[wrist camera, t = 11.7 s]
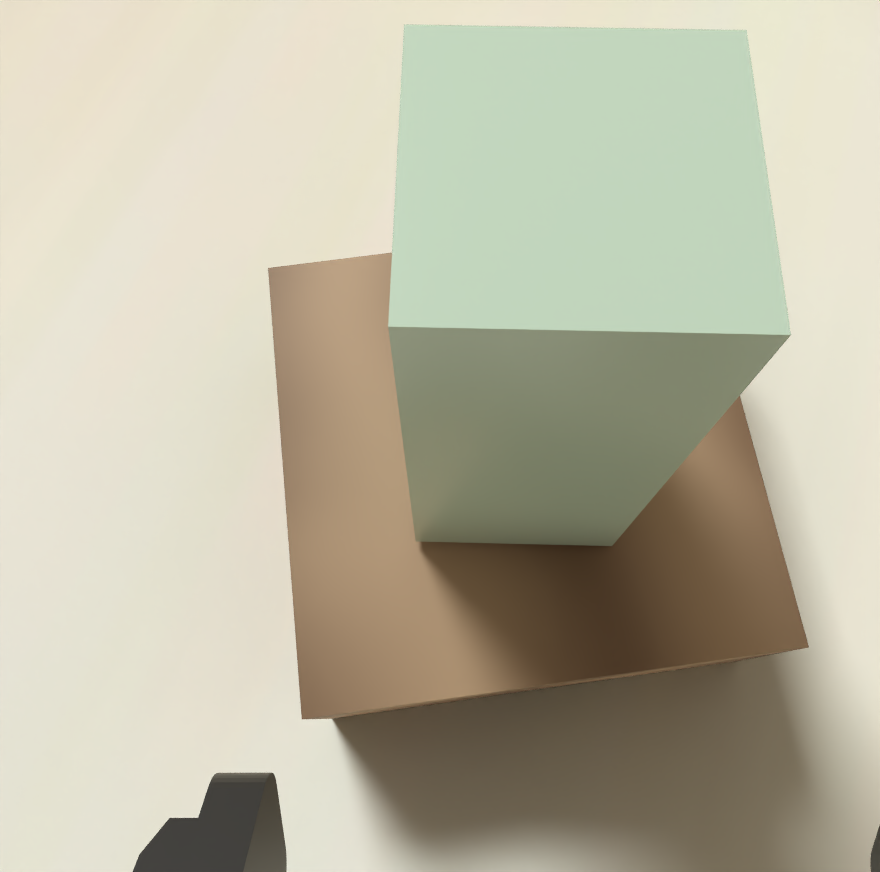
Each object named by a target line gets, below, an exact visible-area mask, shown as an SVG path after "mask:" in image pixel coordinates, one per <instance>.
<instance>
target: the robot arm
mask: <svg viewBox="0 0 880 872" xmlns="http://www.w3.org/2000/svg"><path fill="white" fill-rule="evenodd" d="M133 872H286V847H285V840H284V833H283V826H282V819H281V812H280V805H279V798H278V791H277V784H276V779H275V776H274V774H273V773H216V774H215V775H214V776H213V778H212V780H211V782H210V784H209V787H208V790H207V793H206V796H205V799H204V802H203V805H202V808H201V811H200V814H199V817H198V818H169V820H168V821H167V822H166V823H165V824H164V826H163V827H162V828H161V829H160V830H159V832H158V833H157V834H156V835H155V836H154V838H153V839H152V840H151V841H150V843H149V844H148V845H147V846H146V847H145V849H144V850H143V851H142V852H141V853H140V855H139V857H138V860H137V862H136V865H135V867H134V870H133ZM871 872H880V826H879V829H878V832H877V836H876V839H875V842H874V845H873V848H872V853H871Z"/></svg>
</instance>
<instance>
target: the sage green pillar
mask: <svg viewBox="0 0 880 872" xmlns="http://www.w3.org/2000/svg"><path fill="white" fill-rule="evenodd" d="M388 329H389V337H390V345H391V353H392V361H393V368H394V376H395V384H396V392H397V400H398V408H399V415H400V423H401V431H402V439H403V447H404V455H405V462H406V470H407V478H408V486H409V494H410V501H411V509H412V517H413V525H414V533H415V541H416V542H458V543H501V544H543V545H586V546H612V545H613V544H614V543H615V542H616V541H617V540H618V538H619V537H620V536H621V535H622V534H623V532H624V531H625V530H626V529H627V528H628V527H629V525H630V524H631V523H632V522H633V521H634V520H635V518H636V517H637V516H638V515H639V514H640V512H641V511H642V510H643V509H644V508H645V507H646V505H647V504H648V503H649V502H650V501H651V499H652V498H653V497H654V496H655V495H656V494H657V492H658V491H659V490H660V489H661V488H662V486H663V485H664V484H665V483H666V482H667V481H668V479H669V478H670V477H671V476H672V475H673V473H674V472H675V471H676V470H677V469H678V468H679V466H680V465H681V464H682V463H683V462H684V460H685V459H686V458H687V457H688V456H689V455H690V453H691V452H692V451H693V450H694V449H695V447H696V446H697V445H698V444H699V443H700V442H701V440H702V439H703V438H704V437H705V436H706V434H707V433H708V432H709V431H710V430H711V429H712V427H713V426H714V425H715V424H716V423H717V421H718V420H719V419H720V418H721V417H722V416H723V414H724V413H725V412H726V411H727V410H728V409H729V407H730V406H731V405H732V404H733V403H734V401H735V400H736V399H737V398H738V397H739V396H740V394H741V393H742V392H743V391H744V390H745V388H746V387H747V386H748V385H749V384H750V383H751V381H752V380H753V379H754V378H755V377H756V375H757V374H758V373H759V372H760V371H761V370H762V368H763V367H764V366H765V365H766V364H767V362H768V361H769V360H770V359H771V358H772V357H773V355H774V354H775V353H776V352H777V351H778V349H779V348H780V347H781V346H782V345H783V344H784V342H785V341H786V340H787V339H788V338H789V336H790V335H791V333H790V326H789V319H788V312H787V305H786V298H785V292H784V285H783V278H782V271H781V264H780V257H779V250H778V243H777V237H776V230H775V223H774V216H773V209H772V202H771V195H770V188H769V181H768V175H767V168H766V161H765V154H764V147H763V140H762V133H761V126H760V120H759V113H758V106H757V99H756V92H755V85H754V78H753V71H752V65H751V58H750V51H749V44H748V37H747V30H702V29H642V28H582V27H522V26H462V25H404V39H403V57H402V76H401V95H400V114H399V133H398V151H397V170H396V189H395V208H394V226H393V245H392V264H391V283H390V301H389V320H388Z"/></svg>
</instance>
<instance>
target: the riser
mask: <svg viewBox="0 0 880 872" xmlns="http://www.w3.org/2000/svg"><path fill="white" fill-rule="evenodd" d="M391 264H392V253H386V254H378V255H370V256H362V257H353V258H345V259H337V260H329V261H321V262H313V263H305V264H297V265H289V266H281V267H273V268H268V272H269V285H270V299H271V312H272V326H273V339H274V352H275V366H276V379H277V392H278V406H279V419H280V433H281V446H282V459H283V473H284V486H285V500H286V513H287V526H288V540H289V553H290V566H291V580H292V593H293V607H294V620H295V633H296V647H297V660H298V674H299V687H300V700H301V714H302V719H333V718H340V717H347V716H354V715H361V714H368V713H375V712H382V711H389V710H396V709H403V708H411V707H418V706H425V705H432V704H439V703H446V702H453V701H460V700H467V699H474V698H481V697H488V696H495V695H502V694H509V693H516V692H523V691H530V690H537V689H544V688H551V687H558V686H565V685H573V684H580V683H587V682H594V681H601V680H608V679H615V678H622V677H629V676H636V675H643V674H650V673H657V672H664V671H671V670H678V669H685V668H692V667H699V666H706V665H713V664H720V663H727V662H735V661H741V660H746V659H751V658H756V657H761V656H766V655H771V654H777V653H782V652H787V651H792V650H797V649H802V648H808V647H809V646H808V643H807V639H806V635H805V632H804V628H803V624H802V621H801V617H800V613H799V610H798V606H797V603H796V599H795V595H794V592H793V588H792V584H791V581H790V577H789V573H788V570H787V566H786V563H785V559H784V555H783V552H782V548H781V544H780V541H779V537H778V533H777V530H776V526H775V523H774V519H773V515H772V512H771V508H770V504H769V501H768V497H767V493H766V490H765V486H764V482H763V479H762V475H761V472H760V468H759V464H758V461H757V457H756V453H755V450H754V446H753V442H752V439H751V435H750V432H749V428H748V424H747V421H746V417H745V413H744V410H743V406H742V402H741V399H740V396H739V397H738V398H737V399H736V400H735V401H734V403H733V404H732V405H731V406H730V407H729V409H728V410H727V411H726V412H725V413H724V414H723V416H722V417H721V418H720V419H719V420H718V421H717V423H716V424H715V425H714V426H713V427H712V429H711V430H710V431H709V432H708V433H707V434H706V436H705V437H704V438H703V439H702V440H701V442H700V443H699V444H698V445H697V446H696V447H695V449H694V450H693V451H692V452H691V453H690V455H689V456H688V457H687V458H686V459H685V460H684V462H683V463H682V464H681V465H680V466H679V468H678V469H677V470H676V471H675V472H674V473H673V475H672V476H671V477H670V478H669V479H668V481H667V482H666V483H665V484H664V485H663V486H662V488H661V489H660V490H659V491H658V492H657V494H656V495H655V496H654V497H653V498H652V499H651V501H650V502H649V503H648V504H647V505H646V507H645V508H644V509H643V510H642V511H641V512H640V514H639V515H638V516H637V517H636V518H635V520H634V521H633V522H632V523H631V524H630V525H629V527H628V528H627V529H626V530H625V531H624V532H623V534H622V535H621V536H620V537H619V538H618V540H617V541H616V542H615V543H614V544H613V545H612V546H586V545H543V544H501V543H458V542H416V541H415V533H414V525H413V517H412V509H411V501H410V494H409V486H408V478H407V470H406V462H405V455H404V447H403V439H402V431H401V423H400V415H399V408H398V400H397V392H396V384H395V376H394V368H393V361H392V353H391V345H390V337H389V329H388V320H389V301H390V283H391Z"/></svg>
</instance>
